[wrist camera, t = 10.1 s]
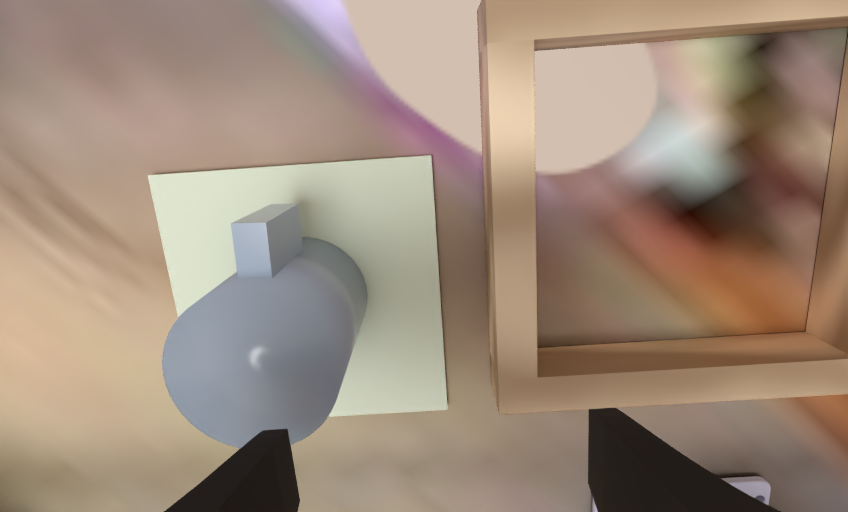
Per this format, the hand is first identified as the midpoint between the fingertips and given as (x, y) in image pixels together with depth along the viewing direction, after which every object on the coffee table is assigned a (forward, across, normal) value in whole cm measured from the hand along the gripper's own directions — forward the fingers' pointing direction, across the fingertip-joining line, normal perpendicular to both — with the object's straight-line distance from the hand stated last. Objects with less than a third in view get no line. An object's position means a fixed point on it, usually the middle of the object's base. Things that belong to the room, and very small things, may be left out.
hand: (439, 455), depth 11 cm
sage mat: (+9, +5, -1) cm, 11 cm away
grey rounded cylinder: (+9, +5, -1) cm, 10 cm away
